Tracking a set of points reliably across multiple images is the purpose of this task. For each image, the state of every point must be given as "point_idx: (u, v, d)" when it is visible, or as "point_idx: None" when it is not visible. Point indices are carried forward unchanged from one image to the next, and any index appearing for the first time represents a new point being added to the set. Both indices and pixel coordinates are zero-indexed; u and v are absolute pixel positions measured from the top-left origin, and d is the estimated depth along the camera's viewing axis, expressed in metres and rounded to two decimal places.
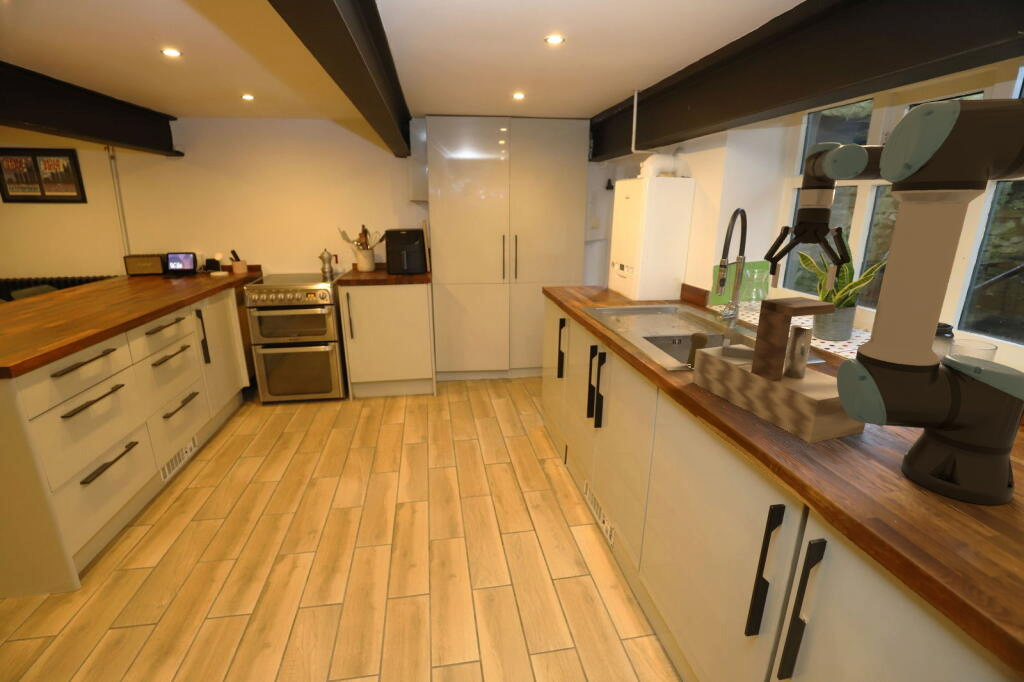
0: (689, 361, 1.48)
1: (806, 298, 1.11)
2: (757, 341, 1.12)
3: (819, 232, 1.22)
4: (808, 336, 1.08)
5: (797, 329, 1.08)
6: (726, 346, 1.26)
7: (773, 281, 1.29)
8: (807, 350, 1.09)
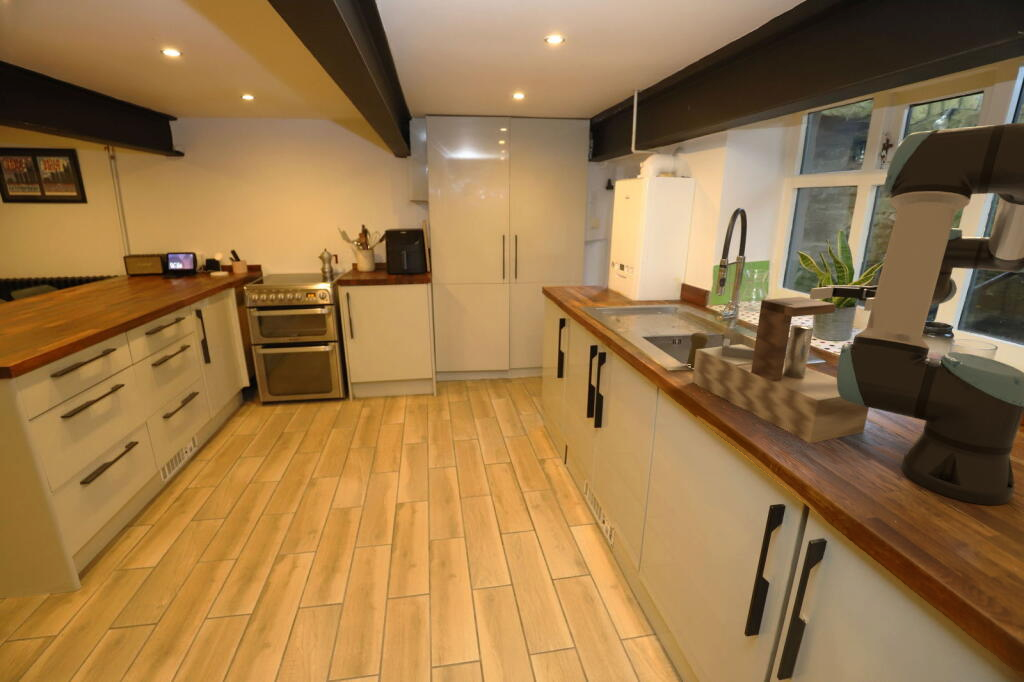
0: (689, 361, 1.48)
1: (806, 298, 1.11)
2: (757, 341, 1.12)
3: None
4: (808, 336, 1.08)
5: (797, 329, 1.08)
6: (726, 346, 1.26)
7: None
8: (807, 350, 1.09)
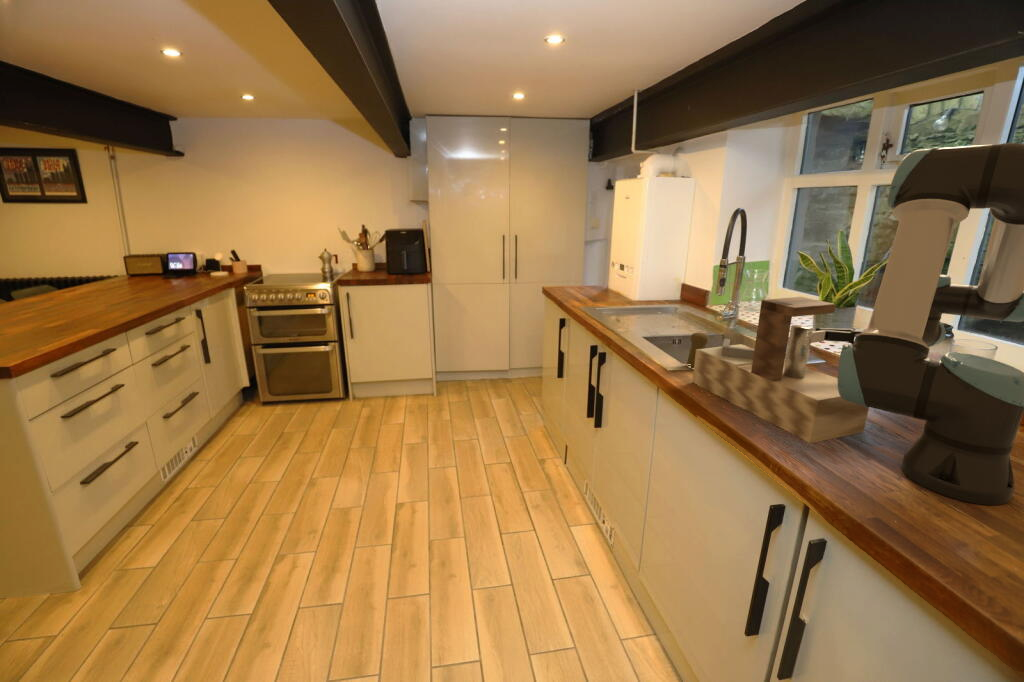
0: (689, 361, 1.48)
1: (806, 298, 1.11)
2: (757, 341, 1.12)
3: None
4: (808, 336, 1.08)
5: (797, 329, 1.08)
6: (726, 346, 1.26)
7: None
8: (807, 350, 1.09)
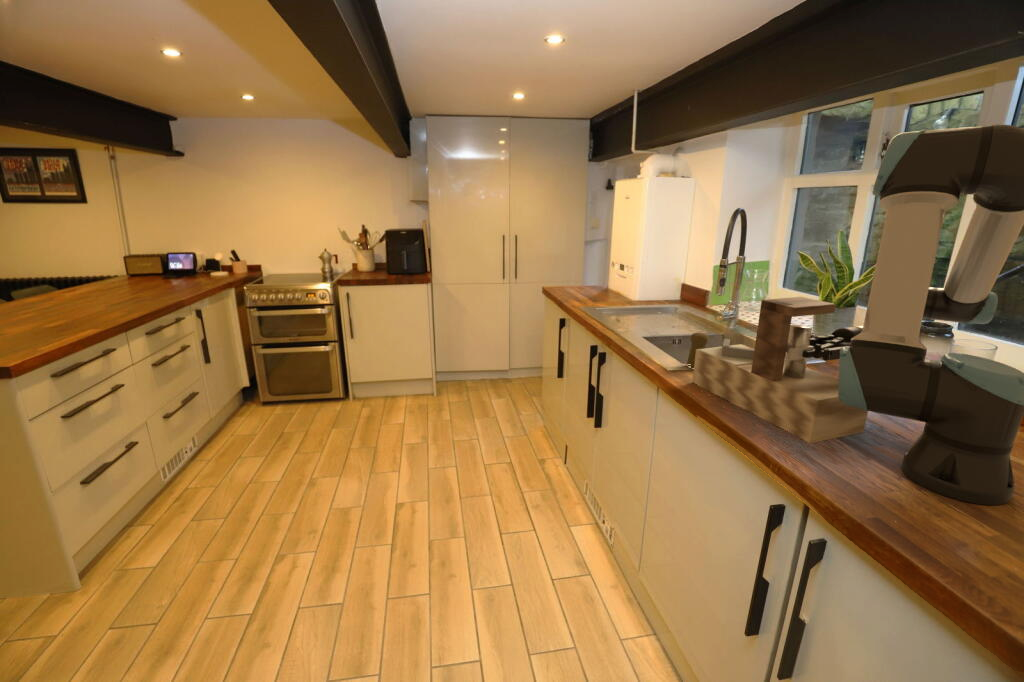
0: (689, 361, 1.48)
1: (806, 298, 1.11)
2: (757, 341, 1.12)
3: (841, 338, 1.13)
4: (807, 335, 1.08)
5: (796, 328, 1.08)
6: (726, 346, 1.26)
7: None
8: None
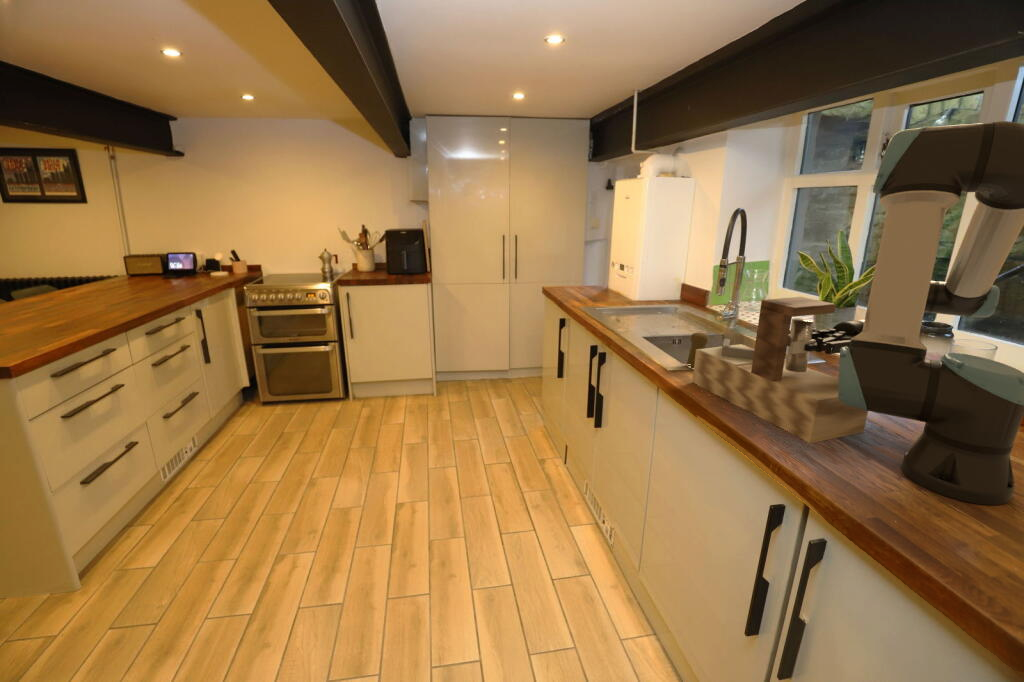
0: (689, 361, 1.48)
1: (806, 298, 1.11)
2: (757, 341, 1.12)
3: (843, 332, 1.12)
4: (809, 329, 1.07)
5: (798, 322, 1.08)
6: (726, 346, 1.26)
7: None
8: None
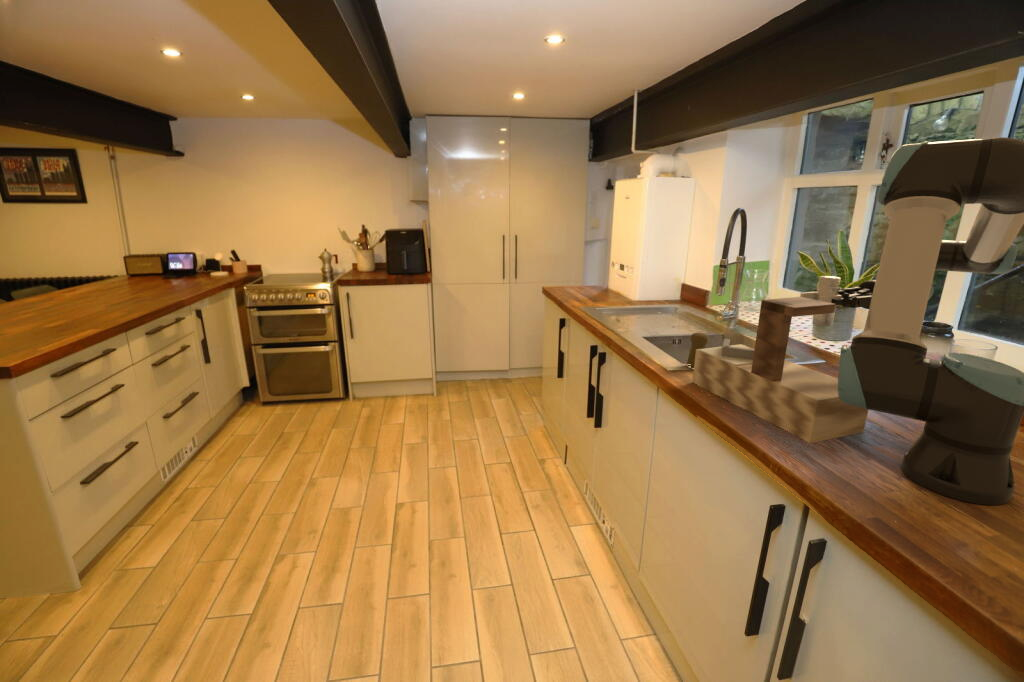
0: (689, 361, 1.48)
1: (806, 298, 1.11)
2: (757, 341, 1.12)
3: (867, 289, 1.19)
4: (836, 284, 1.15)
5: (825, 278, 1.15)
6: (726, 346, 1.26)
7: None
8: None
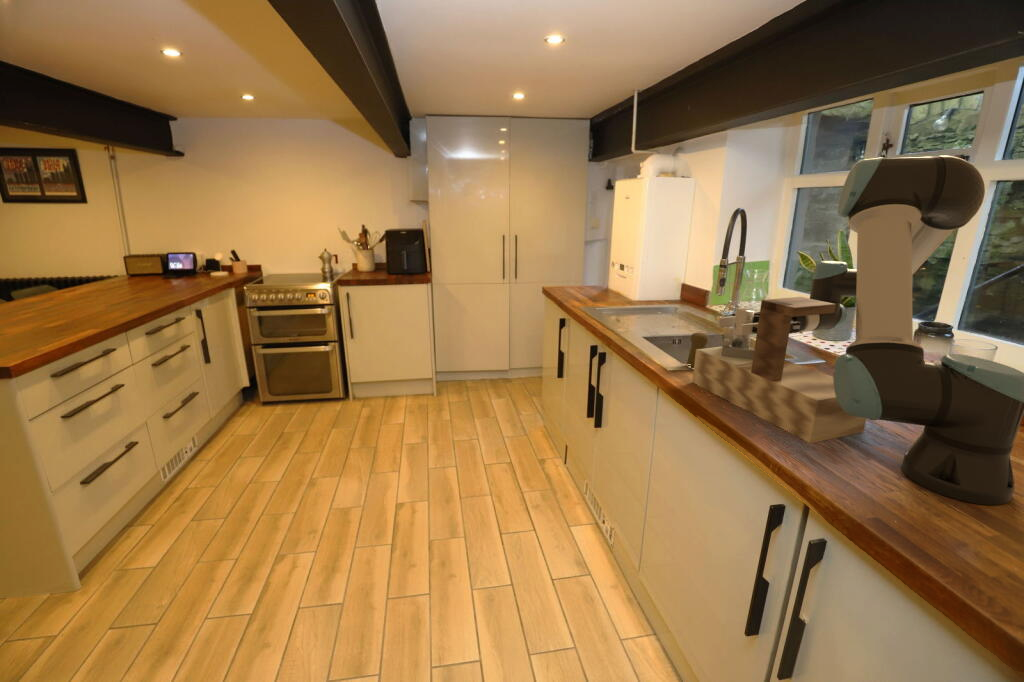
0: (689, 361, 1.48)
1: (806, 298, 1.11)
2: (757, 341, 1.12)
3: None
4: (750, 317, 1.23)
5: (740, 312, 1.24)
6: (726, 346, 1.26)
7: None
8: None
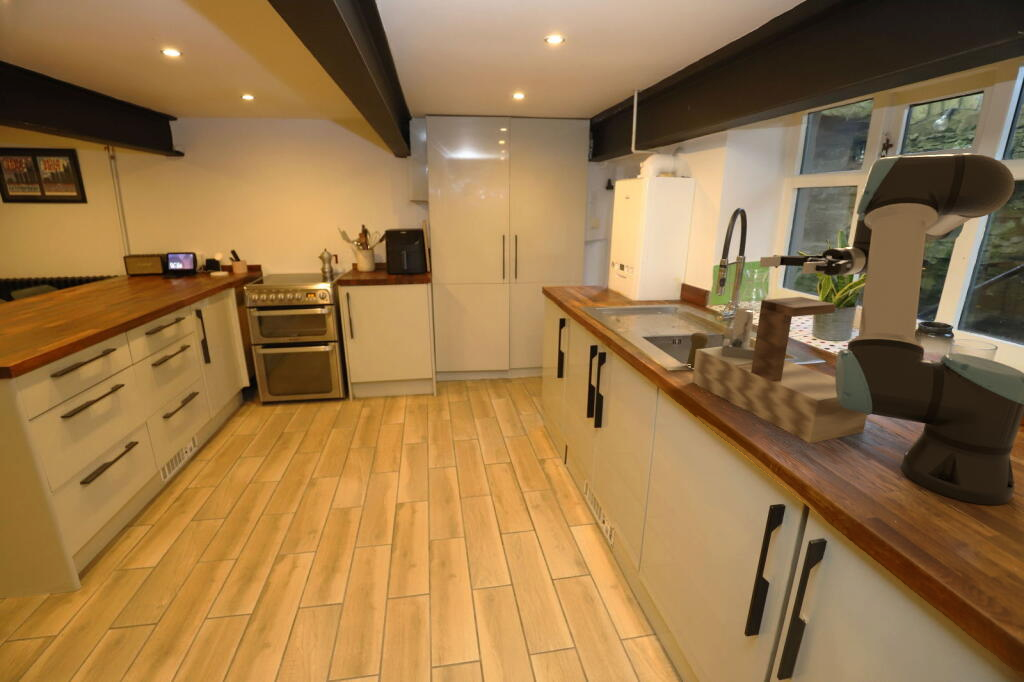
0: (689, 361, 1.48)
1: (806, 298, 1.11)
2: (757, 341, 1.12)
3: (829, 256, 1.27)
4: (749, 318, 1.23)
5: (739, 312, 1.24)
6: (726, 346, 1.26)
7: None
8: (749, 330, 1.24)
